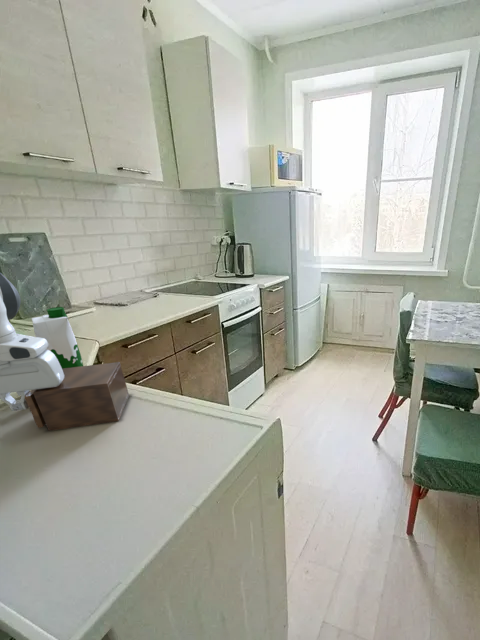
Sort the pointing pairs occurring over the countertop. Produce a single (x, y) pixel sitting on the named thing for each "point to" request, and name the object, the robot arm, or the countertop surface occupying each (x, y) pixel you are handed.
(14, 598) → the countertop surface
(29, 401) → the drawer
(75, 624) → the countertop surface
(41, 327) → the milk carton
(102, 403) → the cabinet
